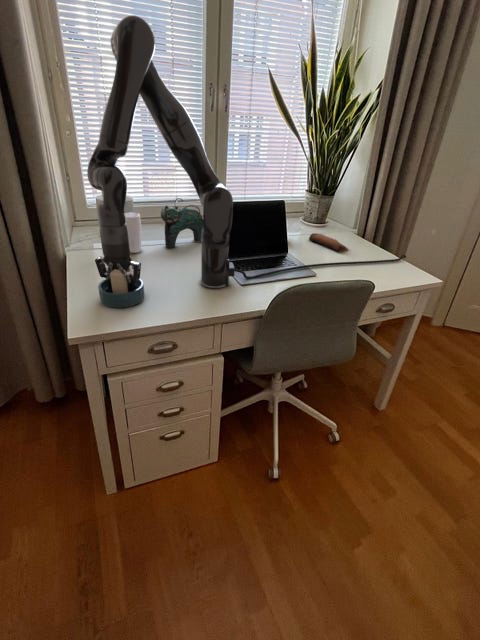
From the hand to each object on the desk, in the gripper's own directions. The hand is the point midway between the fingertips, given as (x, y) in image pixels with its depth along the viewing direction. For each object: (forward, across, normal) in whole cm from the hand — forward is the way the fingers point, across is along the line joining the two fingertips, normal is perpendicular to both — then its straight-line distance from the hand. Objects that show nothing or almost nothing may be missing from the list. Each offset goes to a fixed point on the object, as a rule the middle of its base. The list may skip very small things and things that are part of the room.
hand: (121, 291), depth 108 cm
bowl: (+3, 0, 0) cm, 3 cm away
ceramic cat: (+3, -2, -54) cm, 54 cm away
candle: (+2, 0, 0) cm, 2 cm away
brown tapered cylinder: (+3, -66, -75) cm, 100 cm away
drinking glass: (+3, +14, -38) cm, 41 cm away
